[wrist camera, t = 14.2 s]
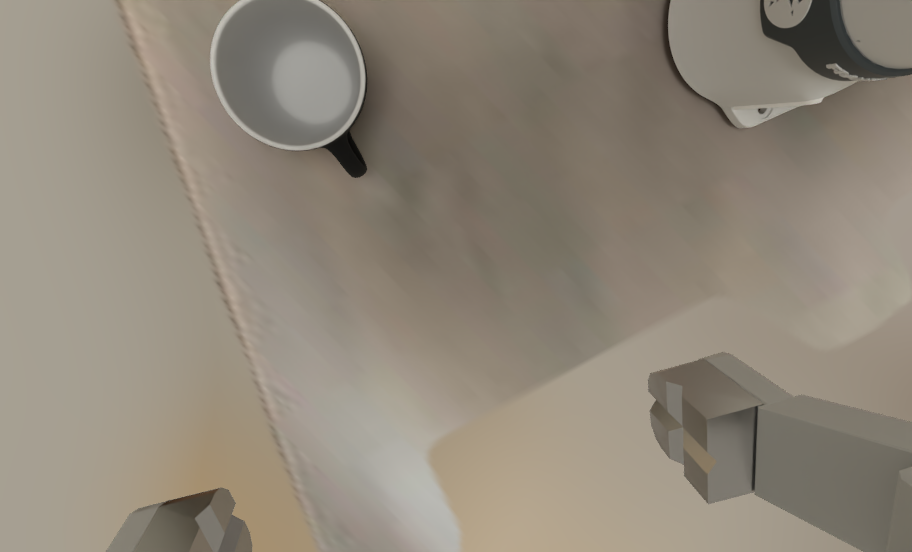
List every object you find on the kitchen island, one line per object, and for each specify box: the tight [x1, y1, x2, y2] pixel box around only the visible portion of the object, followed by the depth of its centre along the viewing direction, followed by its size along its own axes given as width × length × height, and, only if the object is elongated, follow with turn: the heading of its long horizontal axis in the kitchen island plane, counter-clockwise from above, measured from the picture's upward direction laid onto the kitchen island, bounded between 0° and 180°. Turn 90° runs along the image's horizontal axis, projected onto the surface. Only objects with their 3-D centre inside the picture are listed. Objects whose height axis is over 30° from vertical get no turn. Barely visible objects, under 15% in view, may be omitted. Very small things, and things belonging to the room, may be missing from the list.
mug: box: [210, 0, 367, 178], centre depth 33 cm, size 12×9×10 cm
